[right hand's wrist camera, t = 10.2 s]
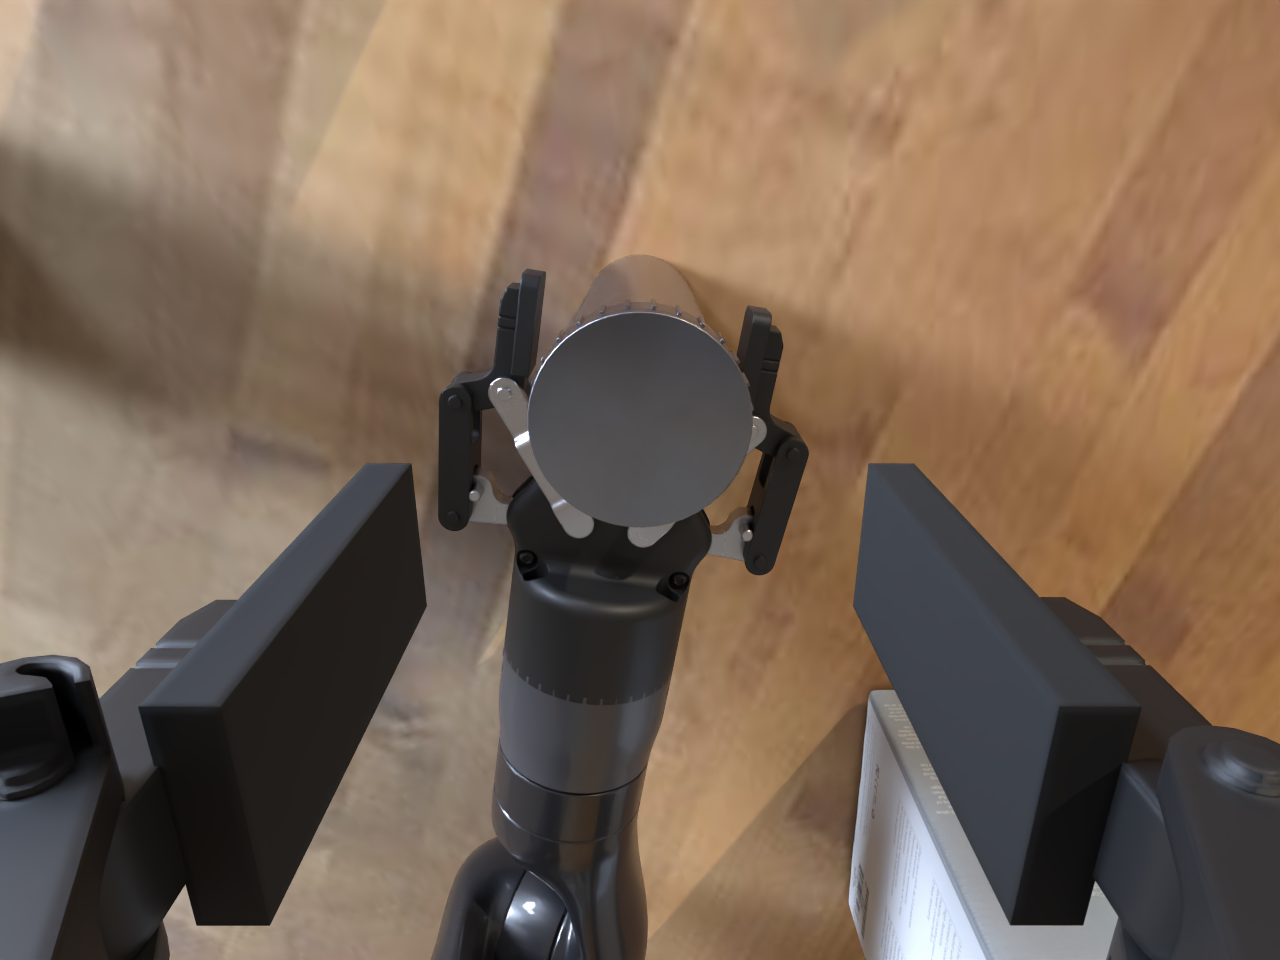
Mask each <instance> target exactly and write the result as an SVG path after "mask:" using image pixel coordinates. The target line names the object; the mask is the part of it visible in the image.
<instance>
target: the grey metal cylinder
mask: <svg viewBox="0 0 1280 960" xmlns="http://www.w3.org/2000/svg"><path fill="white" fill-rule="evenodd" d="M626 299H630V302H651V300H652V299H654V300H656V303H659V304H665V305H668V306H672V307H676V305H679V306H680V307H681V310H683V311H685V312H687V313H689V314H691V315H693V316H695V317H696V318H698V317H699V316H701V317H702V318H703V320H704V322H705V324H706V321H705V319H704V317H703V315H702V312H701V310H700V308H699V305H698V303H697V301H696V299H695V296H694V294H693V292H692V290H691V287H690V285H689V283H688V282H687V280H686V279H685V277H684V276H683V275H682V274H681V272H680V271H679V270H678V269H676V268H675V267H674V266H673V265H671V264H670V263H668V262H667V261H665V260H662V259H660V258H657V257H654V256H649V255H630V256H626V257H623V258H620V259H617V260H615V261H614V262H612V263H610V264H609V265H607V266H606V267H605V268H603V269H602V270H601V271H600V272H599V273H598V275H597V276H596V277H595V279H594V280H593V282H592V283H591V285H590V287H589V290H588V292H587V294H586V297H585V299H584V301H583V303H582V306H581V308H580V310H579V312H578V315H577V317H576V319H575V322H574V324H575V323H576V322H577V320H578V318H579V316H581V315H583V317H585V316H587V315H589V314H591V313H593V312H595V311H597V310H600V309H601V305H604V304H605V305H606V307H608V306H612V305H616V304H620V303H626ZM574 324H573V325H574ZM706 325H707V324H706Z"/></svg>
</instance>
